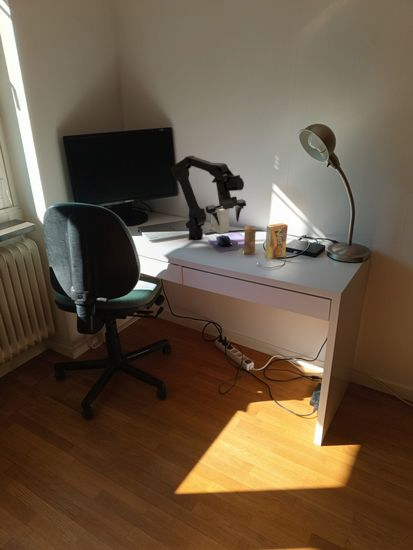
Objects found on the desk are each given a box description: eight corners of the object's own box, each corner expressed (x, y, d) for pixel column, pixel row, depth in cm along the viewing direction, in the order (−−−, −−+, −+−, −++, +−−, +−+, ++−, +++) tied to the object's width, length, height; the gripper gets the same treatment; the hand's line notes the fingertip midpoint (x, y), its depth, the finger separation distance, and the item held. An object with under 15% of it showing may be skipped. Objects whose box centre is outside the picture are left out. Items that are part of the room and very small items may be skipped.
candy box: (280, 253, 197) (282, 222, 191) (285, 256, 194) (288, 225, 187) (264, 256, 194) (266, 225, 187) (269, 259, 190) (271, 227, 184)
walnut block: (243, 254, 195) (244, 229, 190) (244, 250, 200) (244, 225, 195) (254, 254, 195) (255, 229, 190) (254, 250, 199) (255, 226, 194)
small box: (229, 231, 226) (229, 208, 220) (220, 234, 222) (220, 210, 217) (219, 227, 232) (219, 205, 226) (210, 230, 228) (210, 207, 222)
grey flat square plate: (238, 257, 194) (238, 256, 193) (238, 249, 203) (238, 248, 202) (260, 257, 193) (260, 257, 192) (259, 249, 202) (259, 249, 201)
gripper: (207, 196, 187) (212, 230, 192) (247, 189, 189) (251, 222, 194) (203, 194, 198) (208, 226, 202) (240, 187, 200) (245, 219, 204)
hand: (228, 223), depth 200 cm, fingers open, 9 cm apart
